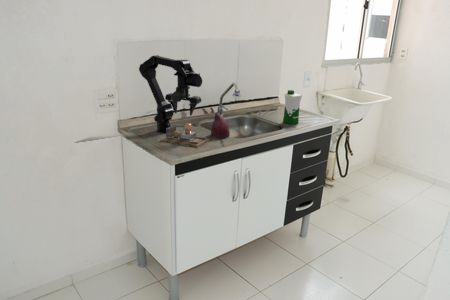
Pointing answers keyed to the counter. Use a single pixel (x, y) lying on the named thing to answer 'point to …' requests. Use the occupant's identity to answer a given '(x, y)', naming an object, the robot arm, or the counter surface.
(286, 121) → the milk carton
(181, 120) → the counter surface
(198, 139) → the press bench
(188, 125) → the ram
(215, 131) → the vegetable
